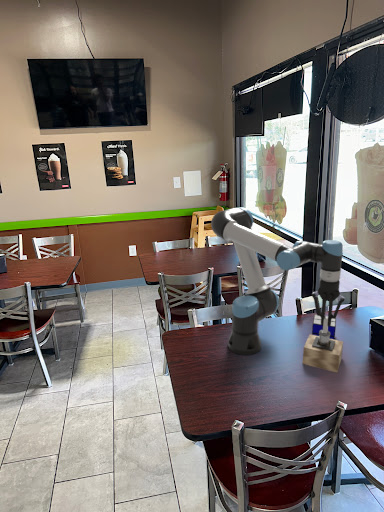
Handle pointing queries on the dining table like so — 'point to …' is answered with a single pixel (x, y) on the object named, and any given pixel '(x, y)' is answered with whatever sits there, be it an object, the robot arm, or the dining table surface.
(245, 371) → the dining table surface
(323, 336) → the peg
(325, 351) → the socket block
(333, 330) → the puzzle cube
